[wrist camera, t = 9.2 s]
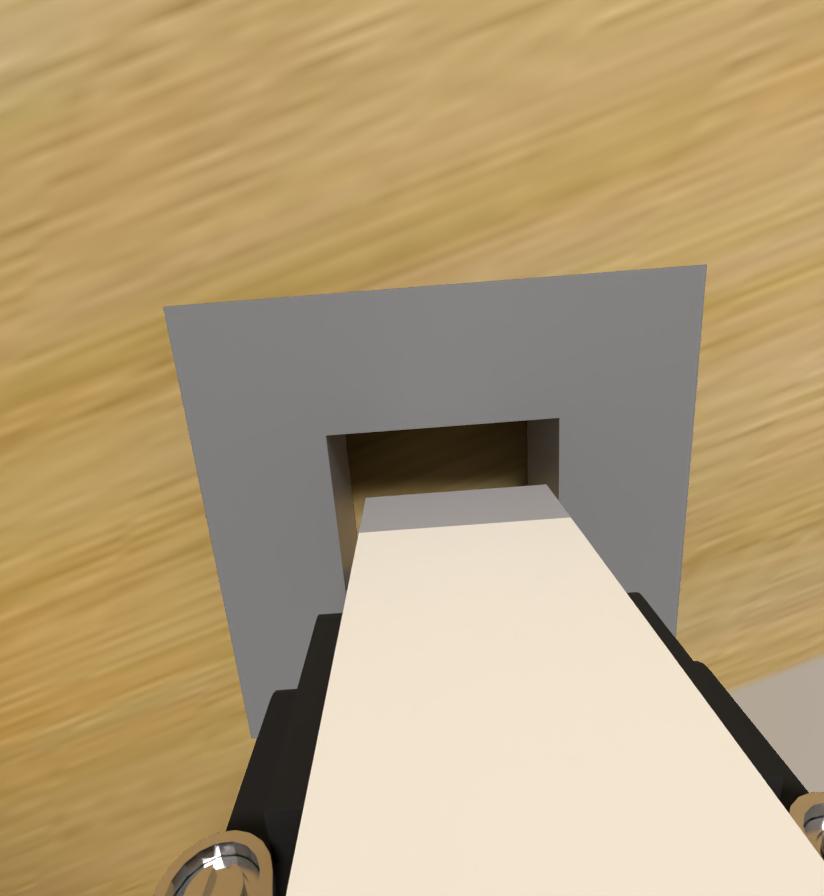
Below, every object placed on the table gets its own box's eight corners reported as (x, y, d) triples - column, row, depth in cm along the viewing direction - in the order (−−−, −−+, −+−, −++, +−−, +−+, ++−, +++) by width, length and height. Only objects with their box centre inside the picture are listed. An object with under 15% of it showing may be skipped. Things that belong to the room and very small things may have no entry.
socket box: (216, 303, 17) (163, 306, 13) (639, 270, 17) (706, 264, 13) (278, 658, 21) (251, 738, 17) (621, 633, 21) (669, 708, 17)
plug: (365, 497, 13) (51, 2068, 1) (546, 484, 13) (1670, 2012, 1) (382, 650, 14) (281, 2141, 3) (546, 638, 14) (1144, 2107, 3)
